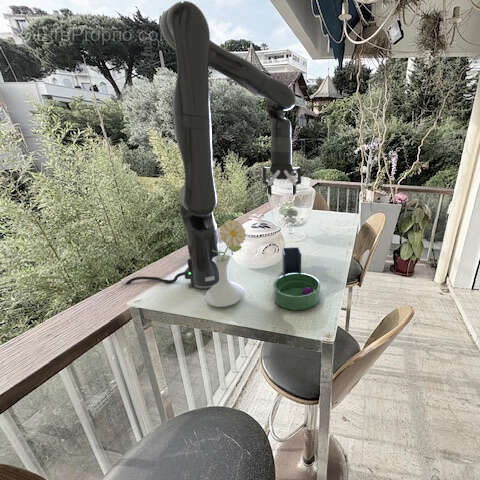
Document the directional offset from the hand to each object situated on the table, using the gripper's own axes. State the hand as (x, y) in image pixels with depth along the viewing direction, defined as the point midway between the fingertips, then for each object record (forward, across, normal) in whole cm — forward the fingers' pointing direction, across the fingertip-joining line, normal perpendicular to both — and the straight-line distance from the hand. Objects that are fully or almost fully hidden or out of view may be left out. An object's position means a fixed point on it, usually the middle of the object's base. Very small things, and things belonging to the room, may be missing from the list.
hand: (281, 195), depth 101 cm
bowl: (+26, +2, -30) cm, 40 cm away
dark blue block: (+26, +2, -16) cm, 31 cm away
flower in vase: (+26, -19, -28) cm, 43 cm away
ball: (+24, +5, -32) cm, 40 cm away
